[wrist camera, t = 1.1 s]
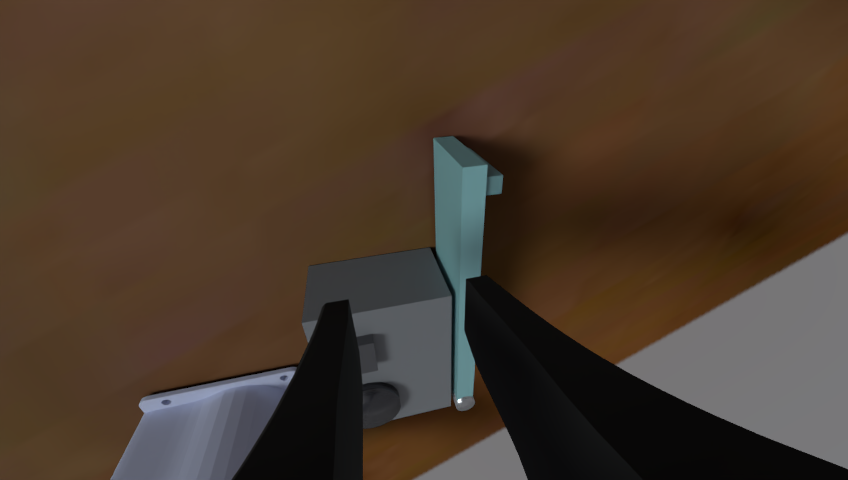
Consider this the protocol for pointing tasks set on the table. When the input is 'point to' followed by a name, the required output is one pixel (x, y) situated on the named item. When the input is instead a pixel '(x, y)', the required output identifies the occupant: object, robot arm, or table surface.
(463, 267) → the side door
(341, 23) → the table surface
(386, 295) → the camera case
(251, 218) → the table surface
